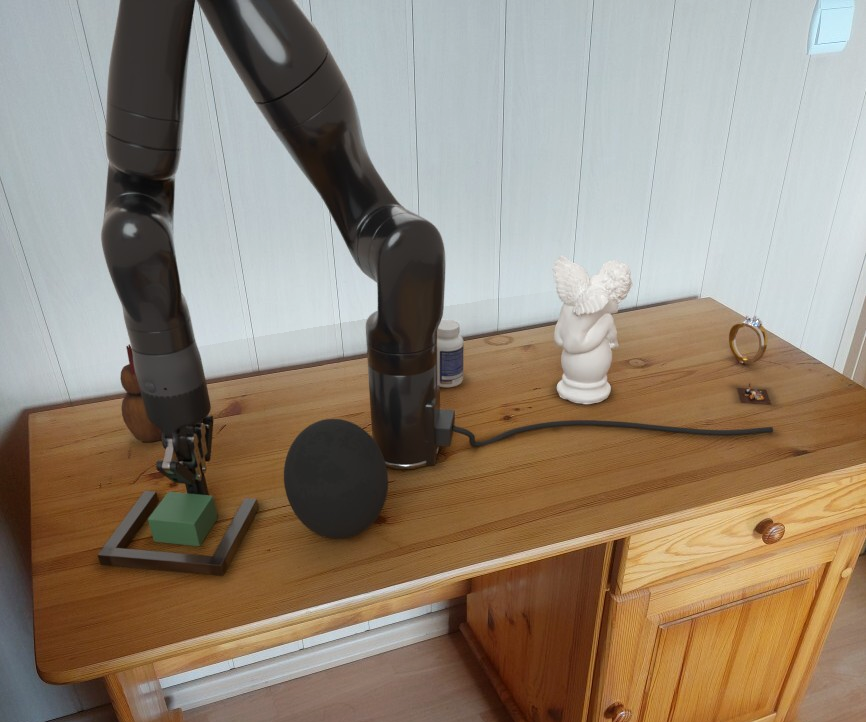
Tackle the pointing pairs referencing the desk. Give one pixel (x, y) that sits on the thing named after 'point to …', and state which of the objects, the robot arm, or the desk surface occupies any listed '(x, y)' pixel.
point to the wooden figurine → (136, 405)
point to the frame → (166, 561)
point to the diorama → (753, 395)
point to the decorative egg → (335, 478)
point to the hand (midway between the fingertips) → (199, 499)
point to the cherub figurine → (588, 327)
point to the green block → (183, 518)
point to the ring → (762, 336)
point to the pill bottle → (449, 354)
